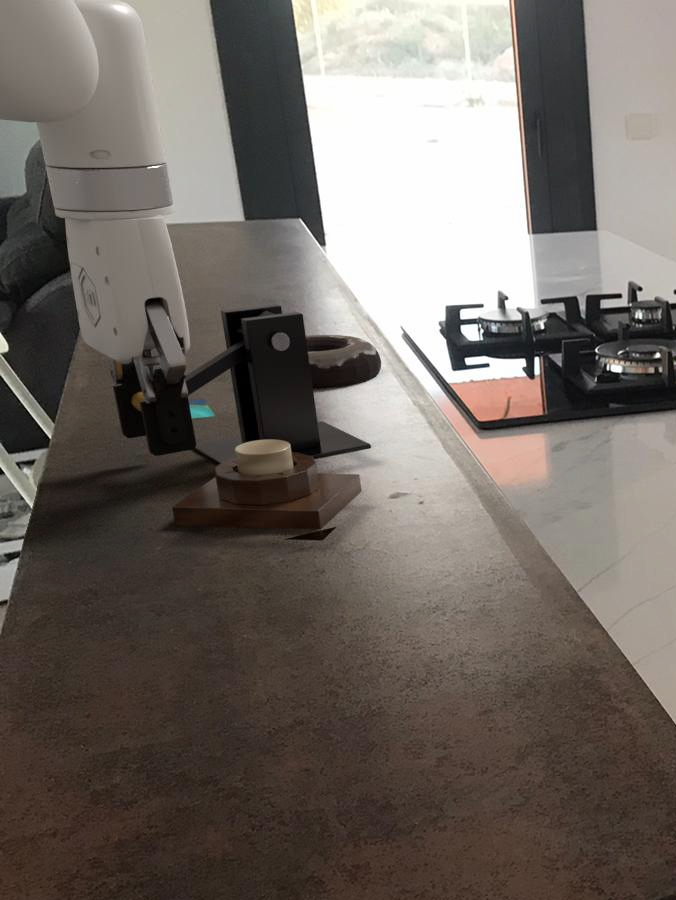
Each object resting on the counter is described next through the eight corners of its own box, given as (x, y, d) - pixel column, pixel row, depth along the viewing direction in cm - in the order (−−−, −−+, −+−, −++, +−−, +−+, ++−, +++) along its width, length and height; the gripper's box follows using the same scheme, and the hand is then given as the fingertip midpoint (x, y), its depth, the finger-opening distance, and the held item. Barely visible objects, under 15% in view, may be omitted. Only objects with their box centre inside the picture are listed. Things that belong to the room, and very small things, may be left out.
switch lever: (166, 433, 94) (146, 406, 93) (142, 419, 98) (123, 393, 96) (301, 344, 99) (284, 317, 98) (275, 333, 103) (258, 307, 101)
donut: (264, 372, 129) (258, 333, 128) (385, 367, 132) (381, 329, 131) (249, 401, 119) (242, 359, 118) (381, 396, 122) (376, 354, 120)
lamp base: (177, 537, 87) (166, 481, 86) (229, 498, 94) (220, 446, 93) (322, 541, 87) (314, 485, 85) (363, 502, 94) (356, 450, 93)
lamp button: (229, 478, 88) (225, 453, 87) (251, 462, 91) (247, 438, 90) (281, 479, 88) (277, 454, 87) (301, 463, 91) (298, 439, 90)
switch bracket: (236, 486, 97) (211, 330, 92) (193, 458, 103) (166, 311, 98) (372, 458, 104) (355, 312, 99) (324, 434, 110) (305, 295, 105)
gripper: (18, 184, 93) (71, 427, 100) (93, 208, 81) (146, 480, 89) (128, 178, 97) (170, 411, 105) (213, 200, 86) (254, 459, 93)
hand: (159, 440), depth 97 cm, fingers closed on switch lever, 5 cm apart
